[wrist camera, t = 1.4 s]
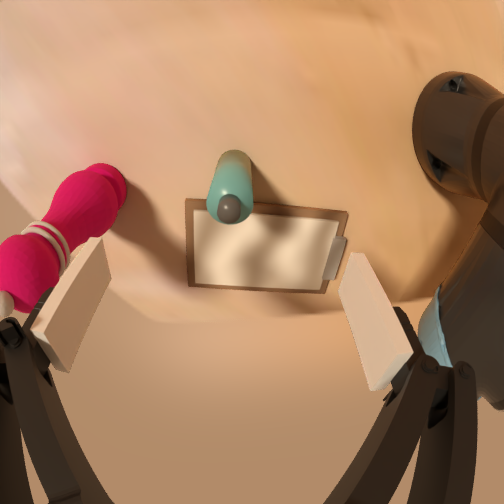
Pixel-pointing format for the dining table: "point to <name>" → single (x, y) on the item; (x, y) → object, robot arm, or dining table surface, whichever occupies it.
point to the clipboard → (264, 248)
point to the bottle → (231, 189)
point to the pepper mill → (58, 235)
